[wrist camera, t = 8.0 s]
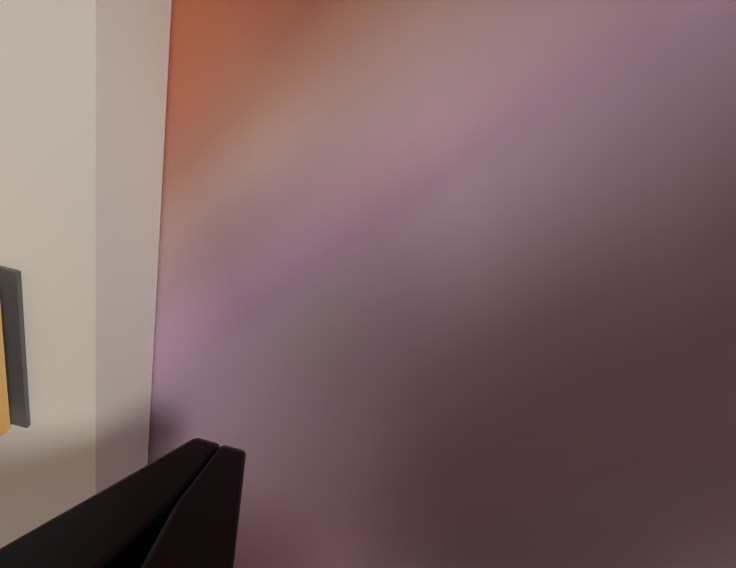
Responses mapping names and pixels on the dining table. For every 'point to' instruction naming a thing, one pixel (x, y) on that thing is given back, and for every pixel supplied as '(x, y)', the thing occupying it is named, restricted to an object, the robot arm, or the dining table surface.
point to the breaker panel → (78, 245)
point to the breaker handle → (3, 388)
